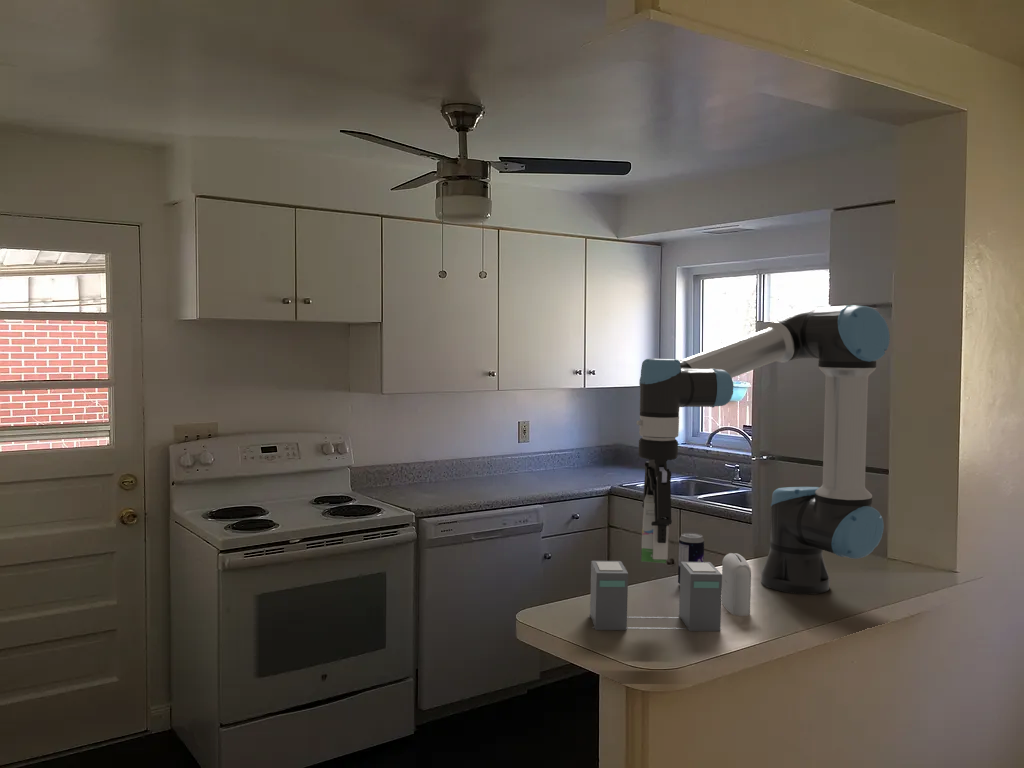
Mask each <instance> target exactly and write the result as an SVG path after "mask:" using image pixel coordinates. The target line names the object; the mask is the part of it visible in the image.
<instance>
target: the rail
mask: <svg viewBox="0 0 1024 768" xmlns="http://www.w3.org/2000/svg"><path fill="white" fill-rule="evenodd" d="M588 618H591V616H589V615H588ZM627 619H681V618H680V616H627ZM591 629H595V627H594V626H592V627H591ZM628 629H629V630H635V629H636V630H688V628H687V627H641V626H640V627H633V626H630V627H629V626H628V627H627V630H628ZM721 630H722V628H721V627H720V631H721Z"/></svg>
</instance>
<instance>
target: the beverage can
mask: <svg viewBox="0 0 1024 768" xmlns="http://www.w3.org/2000/svg"><path fill="white" fill-rule="evenodd" d="M703 537H704V536H703V535H702V534H700V533H695V532H684V533H681V535H680V537H679V539H678V567H677V568H678V570H677V572H678V573H677V574H678V575H677V583H678V584H679V585H680V563H681V562H705V540H704V538H703Z"/></svg>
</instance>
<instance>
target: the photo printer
mask: <svg viewBox="0 0 1024 768" xmlns="http://www.w3.org/2000/svg"><path fill="white" fill-rule="evenodd" d="M721 565H722V566H721V568H722V569H721V574H722V594H721V605H723V606H724V608H725V609H726V610H727V611H728V612H729V614H731V615H732V616H739V617H746V616H750V615H751V596H752V595H751V591H752V590H751V589H752V569H751V566H750V564H749V563H748V561H747V559H745V557H744V556H742V555H741V554H739V553H732V552H729V553H727V554H726V555H725V556H724V557H723V558H722V564H721Z"/></svg>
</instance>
